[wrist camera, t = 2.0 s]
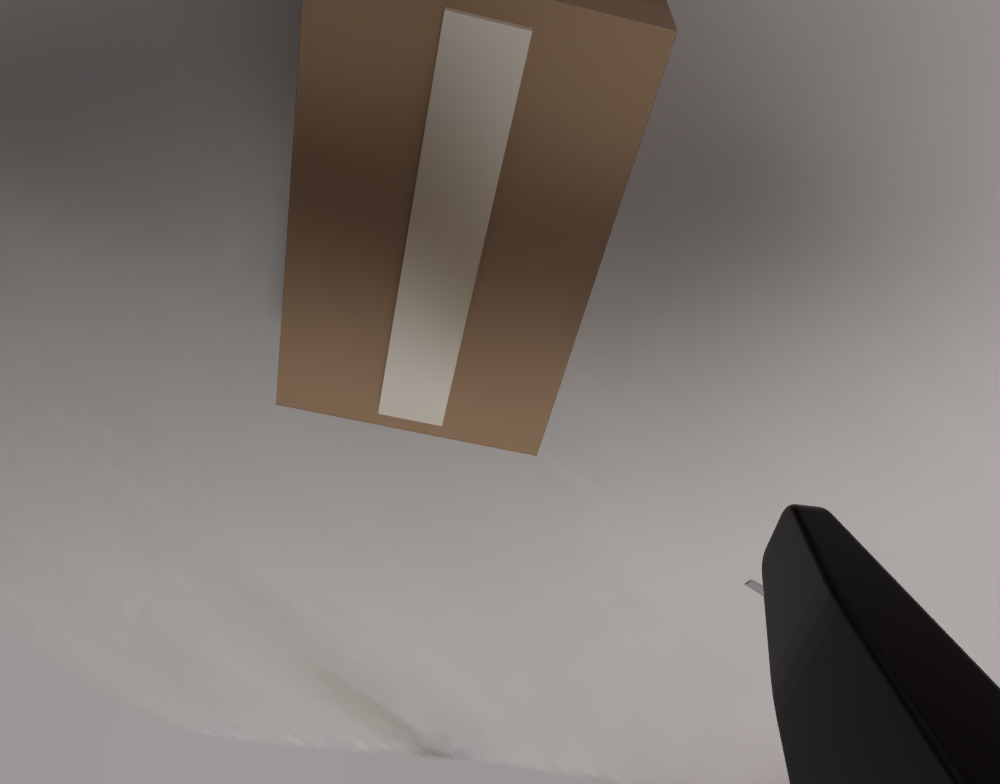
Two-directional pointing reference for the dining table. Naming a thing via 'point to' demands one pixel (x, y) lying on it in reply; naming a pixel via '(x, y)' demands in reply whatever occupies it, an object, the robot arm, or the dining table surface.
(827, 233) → the dining table surface
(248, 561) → the dining table surface
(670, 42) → the taped shipping box
